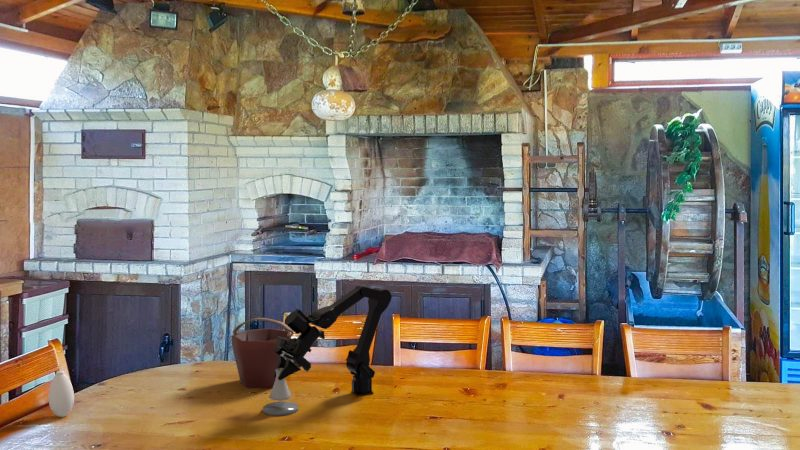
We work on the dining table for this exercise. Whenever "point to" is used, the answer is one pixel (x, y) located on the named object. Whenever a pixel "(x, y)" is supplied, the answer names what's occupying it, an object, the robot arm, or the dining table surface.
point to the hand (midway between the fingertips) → (276, 378)
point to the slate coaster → (280, 408)
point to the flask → (280, 388)
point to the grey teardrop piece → (61, 394)
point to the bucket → (258, 353)
